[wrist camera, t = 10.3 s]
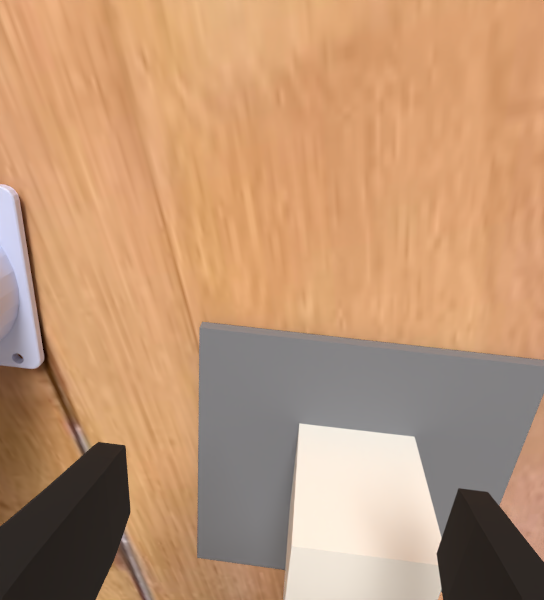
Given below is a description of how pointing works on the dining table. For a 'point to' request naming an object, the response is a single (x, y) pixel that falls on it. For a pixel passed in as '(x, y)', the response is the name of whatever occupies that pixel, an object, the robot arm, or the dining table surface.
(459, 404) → the charcoal mat
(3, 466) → the dining table surface
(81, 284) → the dining table surface
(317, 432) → the cream block
